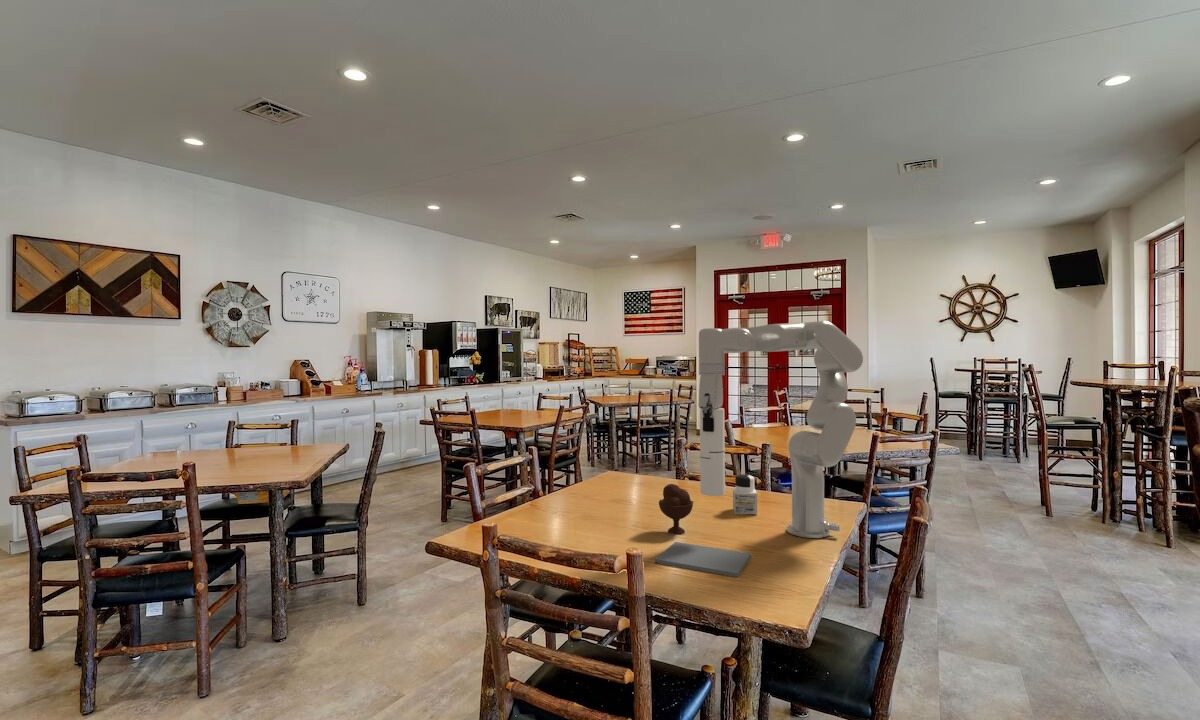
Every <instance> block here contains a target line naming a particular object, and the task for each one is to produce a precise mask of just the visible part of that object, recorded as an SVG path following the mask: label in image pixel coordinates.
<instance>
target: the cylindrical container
mask: <svg viewBox="0 0 1200 720" xmlns="http://www.w3.org/2000/svg"><path fill="white" fill-rule="evenodd" d="M702 411H703V409H701V408H699V452H700V453H699V459H700V460H699V463H700V464H699V465H700V466H699V467H700V469H699V471H700V472H699V474H700V475H699V479H700V480H699V481H700V482H699V484H700V489H699V490H700V494H701V495H704V496H709V497H710V496H711V497H721V496H724V495H725V494H726V465H725V463H726V456H725V455H726V454H725V453H726V451H725V450H726V449H725V448H726V446H725V444H726V443H725V441H726V439H725V437H726V436H725V435H726V434H725V433H726V432H725V429H726V428H725V425H726V424H725V408H723V407H721V408H716V409H714V410H713V418H714V432H704V431H703V417H702V415H703V412H702ZM710 412H711V410H710Z"/></svg>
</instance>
